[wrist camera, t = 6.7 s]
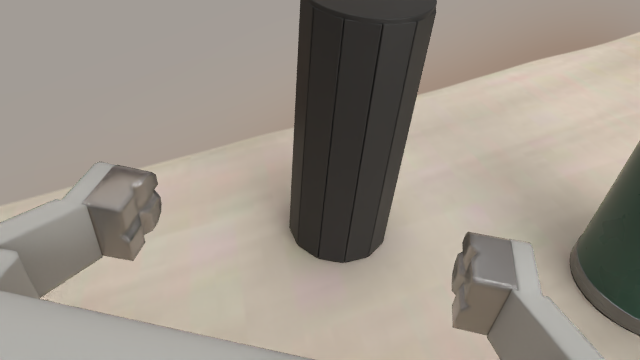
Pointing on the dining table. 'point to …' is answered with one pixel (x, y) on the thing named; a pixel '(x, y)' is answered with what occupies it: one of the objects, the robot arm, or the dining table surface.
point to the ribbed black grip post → (353, 118)
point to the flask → (613, 251)
